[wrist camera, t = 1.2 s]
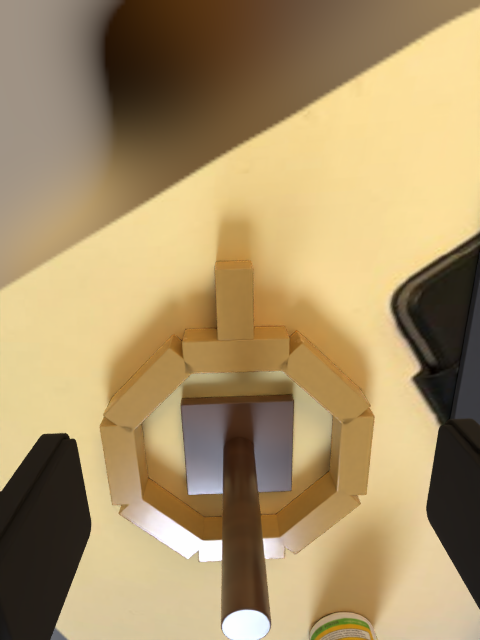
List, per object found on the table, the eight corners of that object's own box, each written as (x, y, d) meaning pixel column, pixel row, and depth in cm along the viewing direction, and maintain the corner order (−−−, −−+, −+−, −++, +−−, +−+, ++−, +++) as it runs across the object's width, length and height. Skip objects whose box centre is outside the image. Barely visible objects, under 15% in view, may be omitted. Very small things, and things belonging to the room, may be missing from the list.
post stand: (181, 398, 26) (149, 565, 15) (291, 394, 26) (339, 557, 15) (188, 486, 29) (165, 686, 18) (289, 482, 29) (329, 679, 18)
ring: (86, 264, 23) (74, 273, 21) (377, 256, 24) (390, 264, 22) (128, 541, 30) (121, 565, 28) (352, 531, 31) (360, 555, 29)
